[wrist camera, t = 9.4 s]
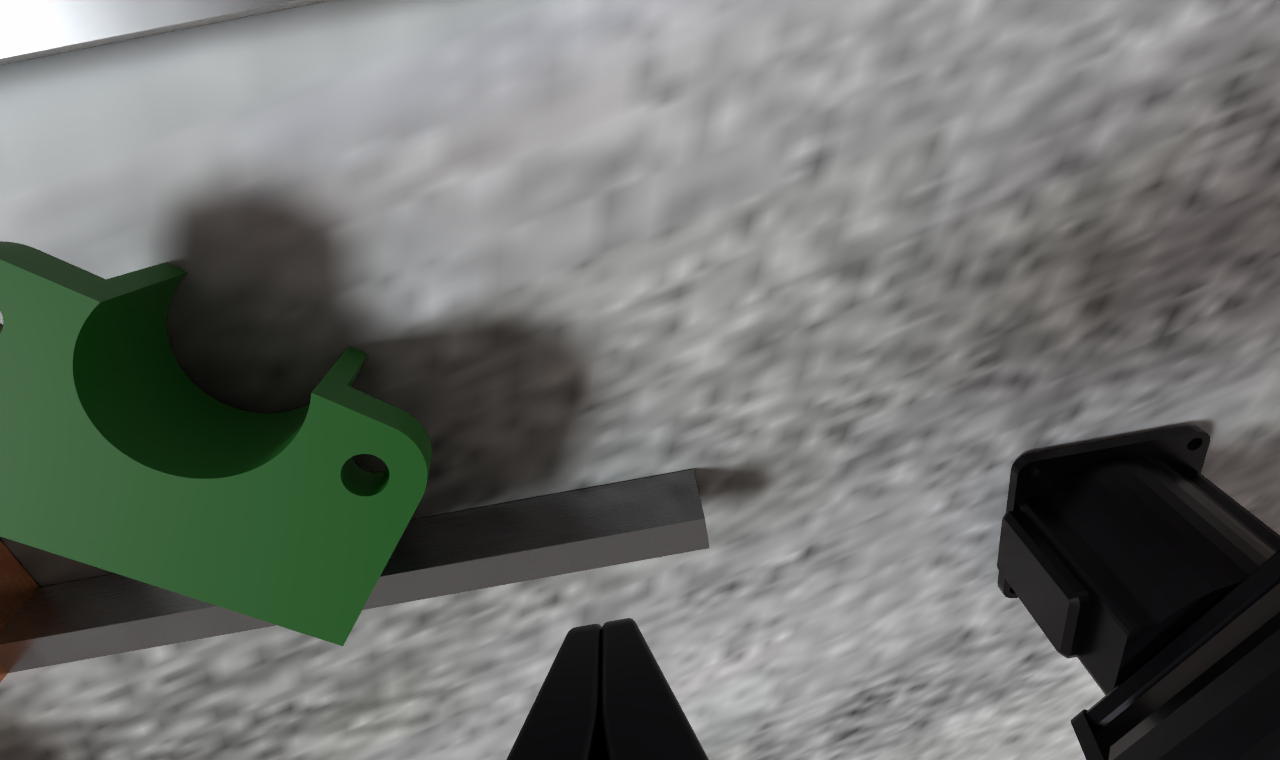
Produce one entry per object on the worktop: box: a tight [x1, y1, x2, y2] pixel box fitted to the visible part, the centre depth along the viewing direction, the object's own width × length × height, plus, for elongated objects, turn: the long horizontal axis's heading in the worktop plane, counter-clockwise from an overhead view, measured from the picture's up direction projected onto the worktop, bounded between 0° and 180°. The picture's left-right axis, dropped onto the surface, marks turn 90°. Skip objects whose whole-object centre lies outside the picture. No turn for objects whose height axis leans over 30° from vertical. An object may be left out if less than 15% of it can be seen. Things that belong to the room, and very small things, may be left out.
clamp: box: [0, 242, 432, 646], centre depth 18 cm, size 12×6×9 cm, turn 53°
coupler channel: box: [0, 0, 709, 682], centre depth 18 cm, size 24×17×4 cm
